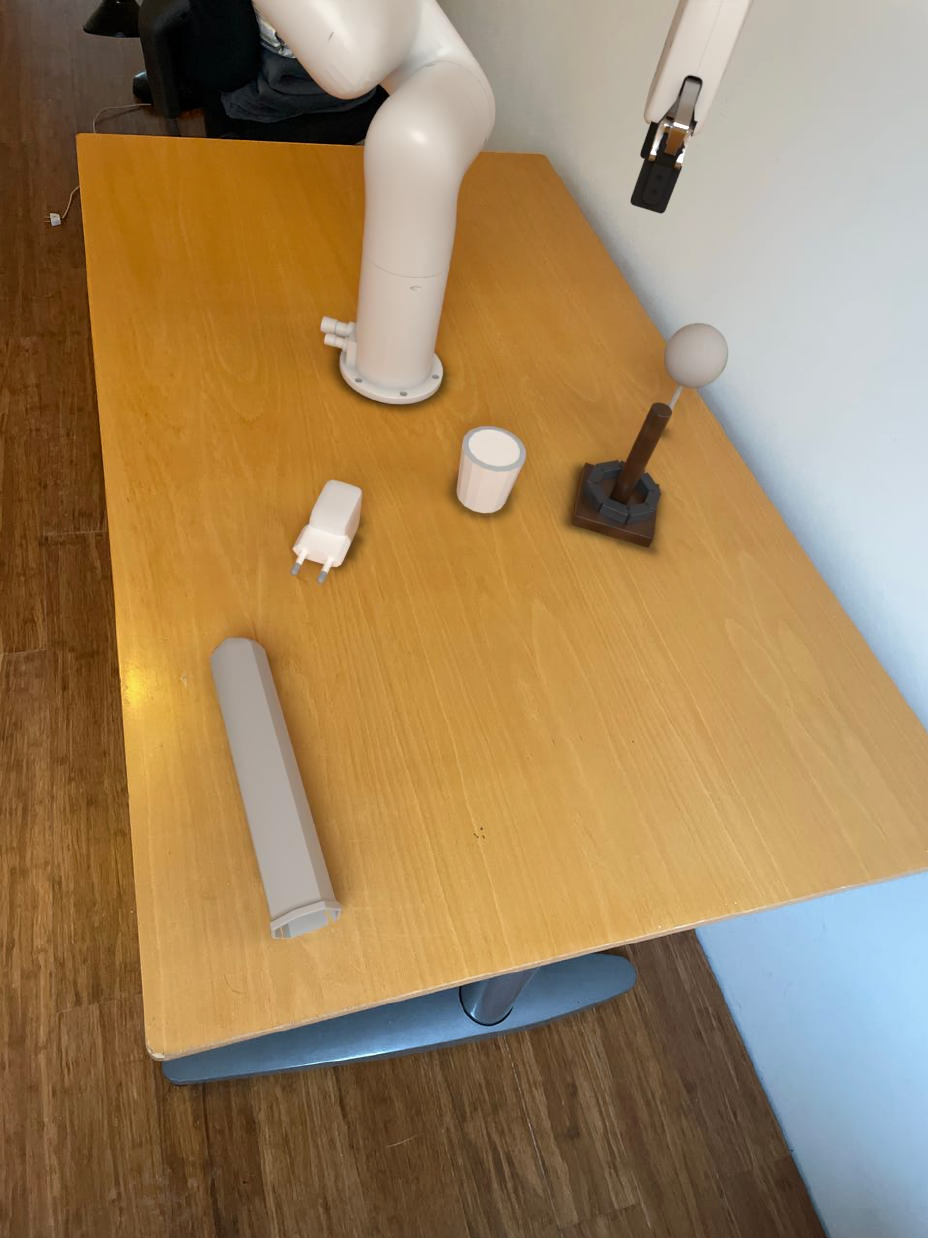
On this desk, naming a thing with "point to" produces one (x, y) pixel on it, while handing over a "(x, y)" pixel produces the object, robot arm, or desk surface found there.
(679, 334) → the lollipop
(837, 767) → the desk surface
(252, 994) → the desk surface
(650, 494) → the ring
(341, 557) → the power adapter
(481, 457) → the shot glass
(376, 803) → the desk surface
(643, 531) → the post
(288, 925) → the tube
